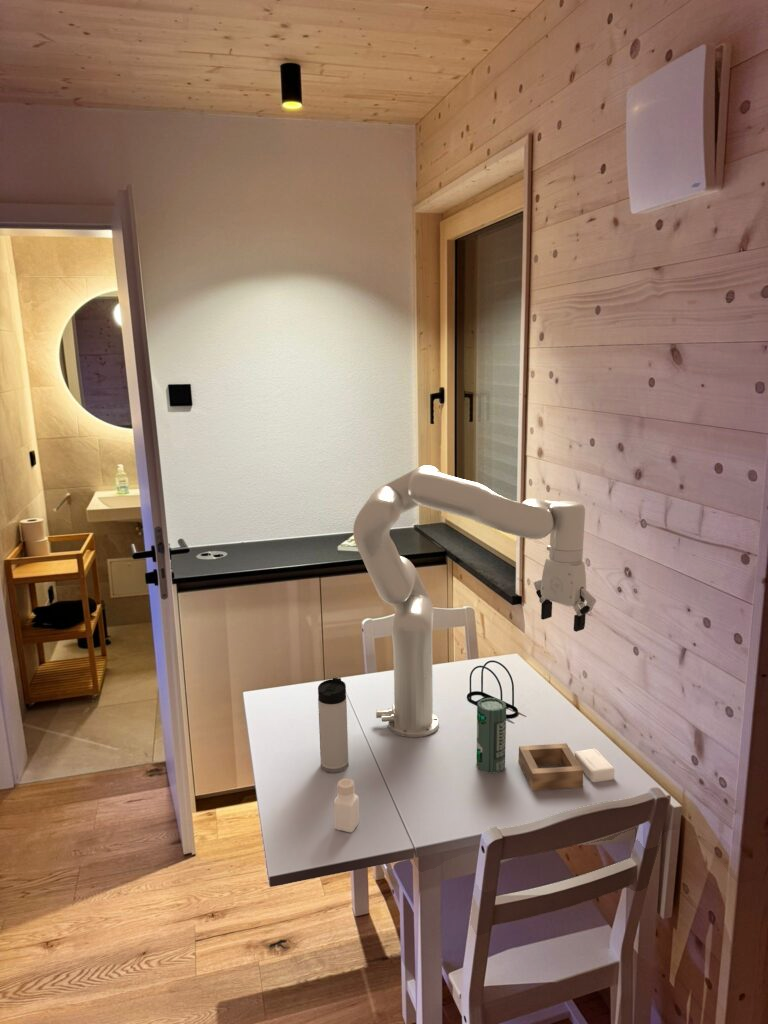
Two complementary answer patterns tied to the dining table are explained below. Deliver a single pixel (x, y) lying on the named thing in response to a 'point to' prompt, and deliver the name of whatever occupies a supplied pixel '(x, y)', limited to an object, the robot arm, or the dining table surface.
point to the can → (491, 735)
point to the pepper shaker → (346, 806)
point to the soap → (594, 765)
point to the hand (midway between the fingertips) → (562, 624)
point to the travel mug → (333, 725)
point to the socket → (550, 777)
